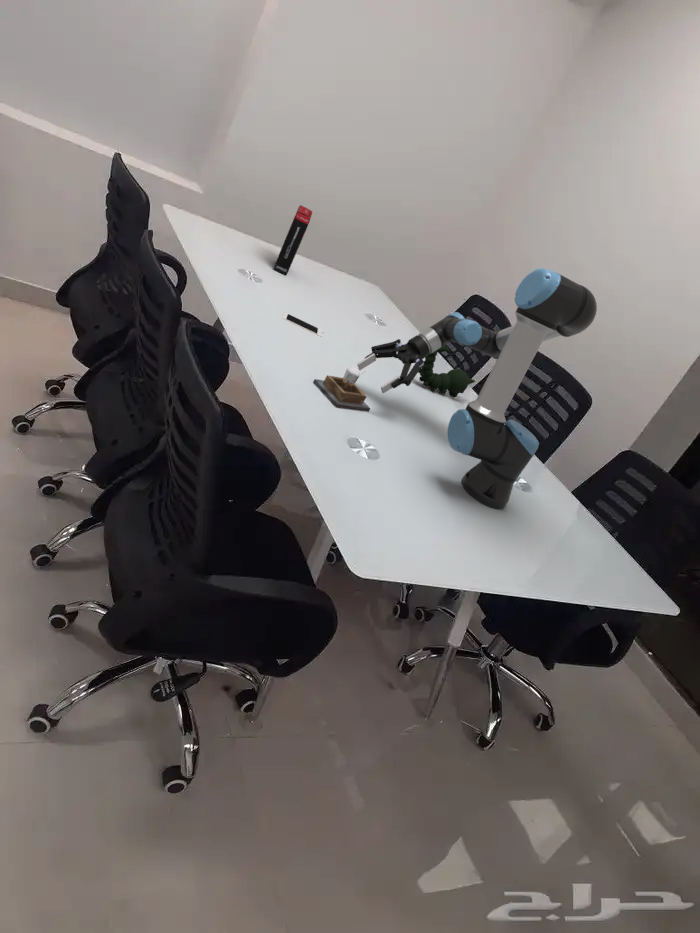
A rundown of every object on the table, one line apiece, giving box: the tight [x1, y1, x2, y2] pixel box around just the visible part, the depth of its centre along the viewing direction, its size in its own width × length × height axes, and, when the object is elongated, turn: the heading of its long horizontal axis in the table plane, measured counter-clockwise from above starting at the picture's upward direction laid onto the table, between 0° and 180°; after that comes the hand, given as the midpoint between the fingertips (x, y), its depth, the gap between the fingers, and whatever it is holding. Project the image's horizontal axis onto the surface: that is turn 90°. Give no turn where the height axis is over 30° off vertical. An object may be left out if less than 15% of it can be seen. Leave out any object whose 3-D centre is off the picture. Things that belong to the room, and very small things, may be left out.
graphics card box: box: [273, 204, 313, 276], centre depth 314 cm, size 17×7×27 cm, turn 1°
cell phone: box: [282, 312, 324, 338], centre depth 269 cm, size 8×16×1 cm, turn 90°
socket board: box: [313, 374, 371, 412], centre depth 226 cm, size 14×14×4 cm
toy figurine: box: [417, 345, 476, 398], centre depth 275 cm, size 9×19×25 cm
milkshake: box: [340, 366, 365, 392], centre depth 224 cm, size 4×5×10 cm
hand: (369, 378), depth 228 cm, fingers open, 13 cm apart
